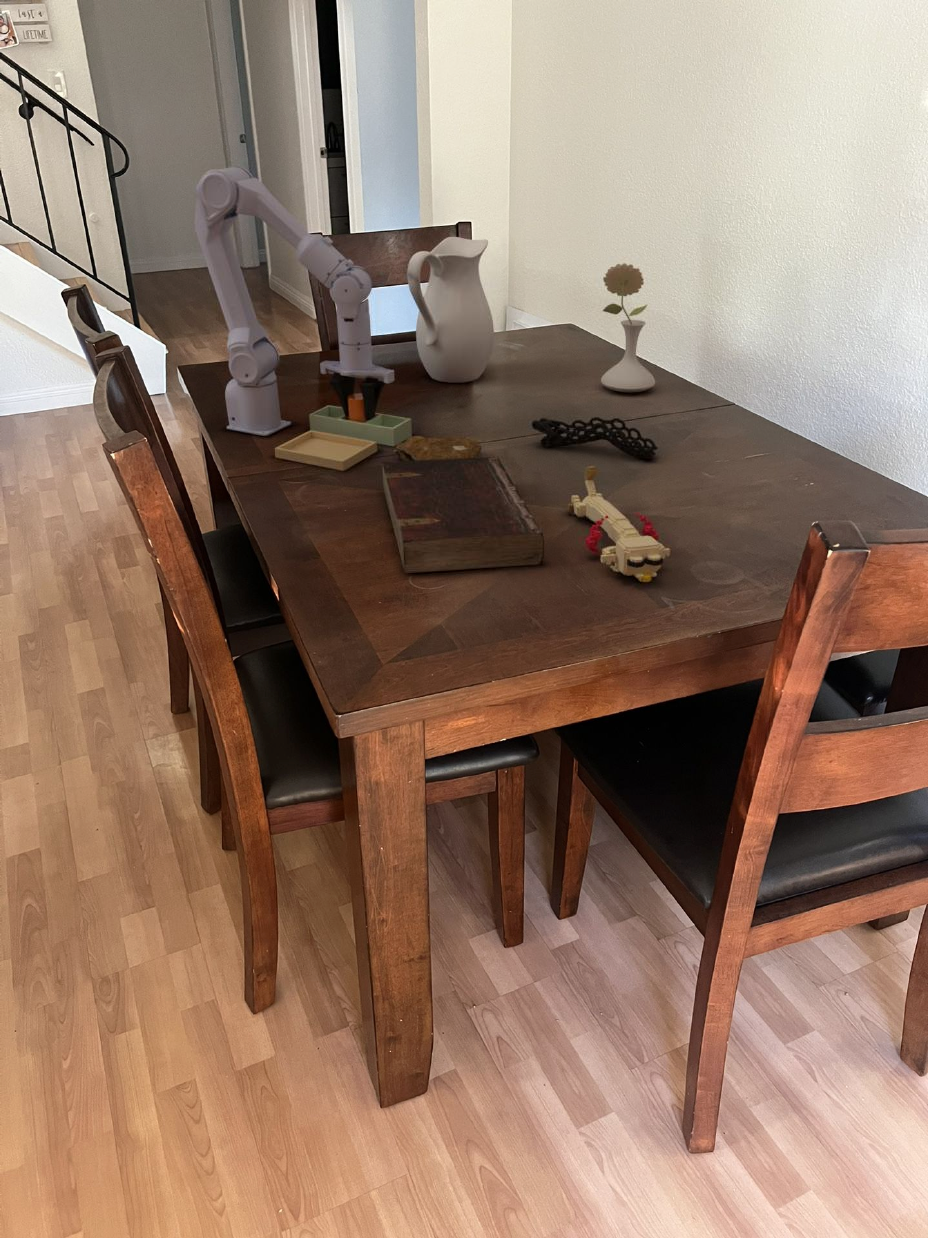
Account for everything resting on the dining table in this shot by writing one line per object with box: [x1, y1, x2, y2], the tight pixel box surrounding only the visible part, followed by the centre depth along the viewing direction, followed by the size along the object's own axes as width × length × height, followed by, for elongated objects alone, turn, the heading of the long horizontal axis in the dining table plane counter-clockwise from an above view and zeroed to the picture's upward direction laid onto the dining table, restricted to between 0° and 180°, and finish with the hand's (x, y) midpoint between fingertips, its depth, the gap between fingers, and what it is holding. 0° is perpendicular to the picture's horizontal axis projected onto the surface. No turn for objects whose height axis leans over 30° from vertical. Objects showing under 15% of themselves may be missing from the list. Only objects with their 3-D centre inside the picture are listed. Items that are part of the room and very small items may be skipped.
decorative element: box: [531, 416, 658, 461], centre depth 157 cm, size 22×5×6 cm, turn 66°
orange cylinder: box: [348, 392, 369, 423], centre depth 164 cm, size 4×4×5 cm
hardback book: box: [381, 456, 545, 574], centre depth 131 cm, size 29×19×5 cm, turn 10°
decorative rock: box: [393, 435, 483, 461], centre depth 153 cm, size 11×4×15 cm
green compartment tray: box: [308, 404, 413, 447], centre depth 166 cm, size 18×6×3 cm, turn 63°
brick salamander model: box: [566, 465, 671, 583], centre depth 123 cm, size 10×9×25 cm
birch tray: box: [274, 430, 378, 472], centre depth 157 cm, size 14×11×2 cm
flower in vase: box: [600, 262, 656, 393], centre depth 185 cm, size 13×11×25 cm
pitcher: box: [406, 236, 495, 384], centre depth 190 cm, size 24×17×28 cm
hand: (359, 416), depth 165 cm, fingers closed on orange cylinder, 4 cm apart
